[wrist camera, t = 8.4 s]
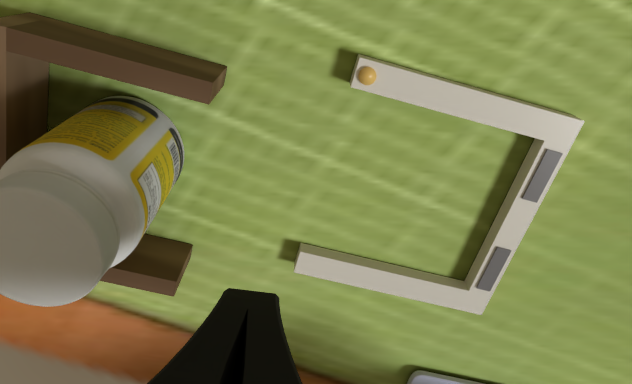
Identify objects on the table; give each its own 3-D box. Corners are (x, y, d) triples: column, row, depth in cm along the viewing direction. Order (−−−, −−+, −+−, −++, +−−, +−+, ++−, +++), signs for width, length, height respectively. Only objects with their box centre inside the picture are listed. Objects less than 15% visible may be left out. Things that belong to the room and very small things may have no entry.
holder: (190, 258, 23) (174, 296, 21) (25, 221, 23) (-14, 256, 20) (227, 66, 20) (212, 82, 17) (29, 12, 19) (-20, 20, 16)
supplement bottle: (53, 135, 21) (-97, 233, 13) (132, 70, 20) (17, 138, 12) (132, 214, 22) (39, 341, 15) (209, 159, 21) (150, 268, 14)
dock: (476, 304, 25) (482, 316, 24) (294, 262, 24) (293, 273, 23) (574, 115, 20) (585, 122, 20) (358, 53, 19) (360, 57, 18)
